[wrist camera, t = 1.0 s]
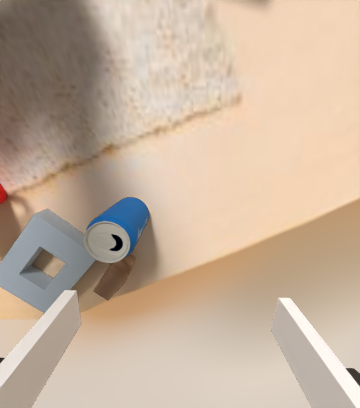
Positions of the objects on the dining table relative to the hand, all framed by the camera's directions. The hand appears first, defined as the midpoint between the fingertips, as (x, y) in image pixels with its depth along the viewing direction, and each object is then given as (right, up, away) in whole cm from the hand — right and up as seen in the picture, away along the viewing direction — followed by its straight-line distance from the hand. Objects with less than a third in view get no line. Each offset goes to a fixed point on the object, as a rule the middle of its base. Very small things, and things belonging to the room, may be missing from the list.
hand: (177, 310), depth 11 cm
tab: (-12, -5, +24) cm, 27 cm away
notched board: (-26, -4, +24) cm, 36 cm away
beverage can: (-9, +5, +21) cm, 24 cm away
